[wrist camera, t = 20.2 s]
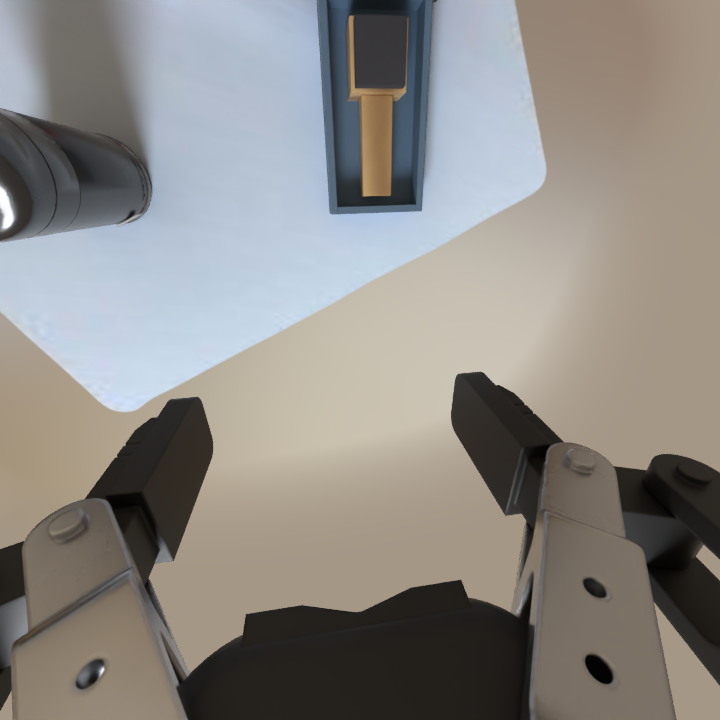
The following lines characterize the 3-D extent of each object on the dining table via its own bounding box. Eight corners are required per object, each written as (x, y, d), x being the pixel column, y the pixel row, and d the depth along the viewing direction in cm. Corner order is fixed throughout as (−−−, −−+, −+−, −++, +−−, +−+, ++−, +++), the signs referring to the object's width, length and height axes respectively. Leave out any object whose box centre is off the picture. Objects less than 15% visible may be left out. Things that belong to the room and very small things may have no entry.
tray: (329, 212, 45) (331, 214, 41) (316, 1, 35) (317, -19, 32) (413, 209, 46) (422, 211, 43) (422, 4, 37) (434, -15, 33)
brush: (350, 196, 43) (355, 196, 39) (345, 32, 36) (350, 9, 32) (395, 195, 44) (405, 195, 39) (399, 34, 37) (411, 11, 32)
